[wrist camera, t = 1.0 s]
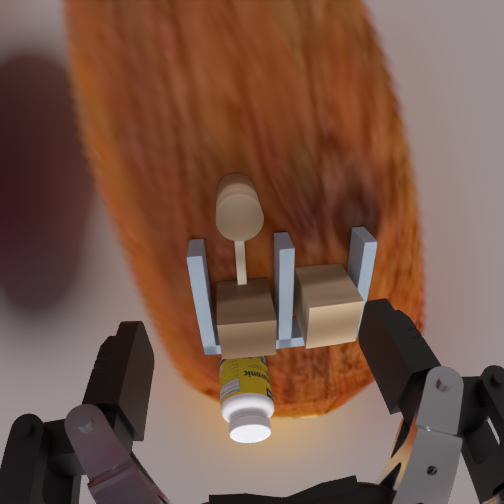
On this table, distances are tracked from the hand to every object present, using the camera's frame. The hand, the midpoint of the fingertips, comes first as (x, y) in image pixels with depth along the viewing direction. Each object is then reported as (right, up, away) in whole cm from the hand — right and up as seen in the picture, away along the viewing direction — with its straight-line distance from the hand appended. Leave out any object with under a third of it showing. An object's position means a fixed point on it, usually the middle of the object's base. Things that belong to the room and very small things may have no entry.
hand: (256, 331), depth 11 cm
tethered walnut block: (-1, +3, +17) cm, 17 cm away
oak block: (+6, 0, +19) cm, 20 cm away
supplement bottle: (-1, -10, +24) cm, 26 cm away
